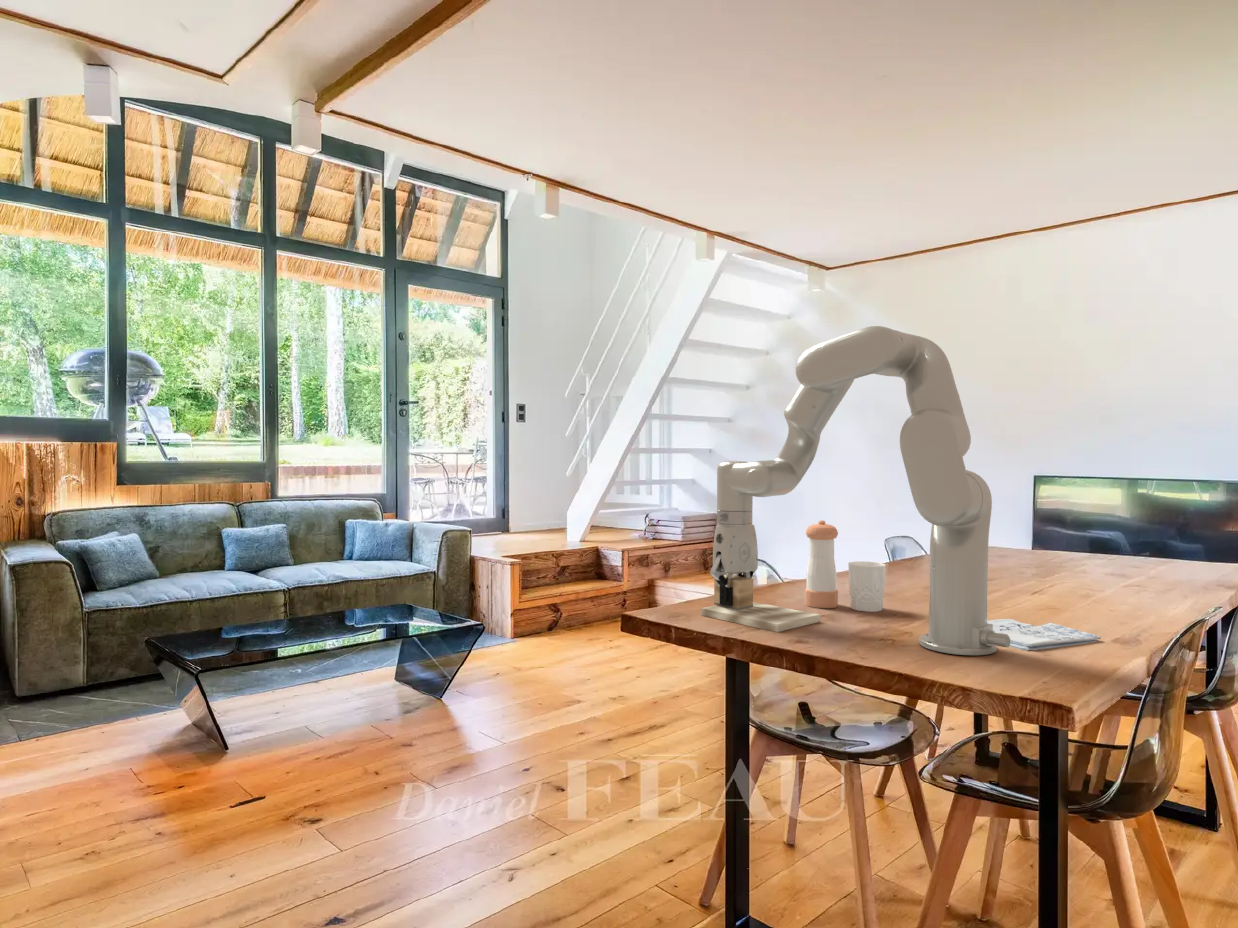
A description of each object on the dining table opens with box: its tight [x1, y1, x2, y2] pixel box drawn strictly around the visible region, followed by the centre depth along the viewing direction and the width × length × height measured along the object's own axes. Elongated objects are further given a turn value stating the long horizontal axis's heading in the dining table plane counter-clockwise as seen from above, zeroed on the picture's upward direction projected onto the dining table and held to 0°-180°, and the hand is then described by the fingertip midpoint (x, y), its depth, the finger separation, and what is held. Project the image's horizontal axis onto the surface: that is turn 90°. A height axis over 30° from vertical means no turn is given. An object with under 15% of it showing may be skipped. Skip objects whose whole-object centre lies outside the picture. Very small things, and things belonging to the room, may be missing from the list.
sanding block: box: [713, 574, 754, 610], centre depth 168 cm, size 7×4×6 cm, turn 41°
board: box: [700, 601, 821, 633], centre depth 163 cm, size 20×14×2 cm
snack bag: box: [987, 618, 1102, 652], centre depth 150 cm, size 19×20×2 cm
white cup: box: [847, 560, 887, 613], centre depth 173 cm, size 8×8×10 cm
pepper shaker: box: [804, 520, 839, 609], centre depth 177 cm, size 7×7×19 cm
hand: (734, 602), depth 168 cm, fingers closed on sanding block, 4 cm apart
